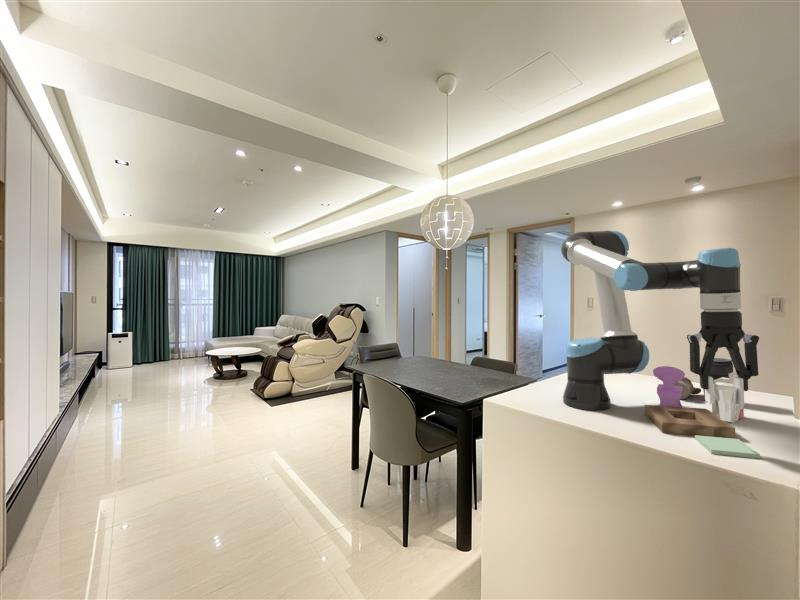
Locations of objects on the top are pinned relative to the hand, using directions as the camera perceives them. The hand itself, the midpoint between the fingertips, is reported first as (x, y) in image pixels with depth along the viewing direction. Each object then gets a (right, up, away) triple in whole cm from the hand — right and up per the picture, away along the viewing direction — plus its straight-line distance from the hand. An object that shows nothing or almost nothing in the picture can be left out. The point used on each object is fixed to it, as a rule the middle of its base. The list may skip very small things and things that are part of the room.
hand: (724, 402), depth 85 cm
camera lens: (+31, -10, +34) cm, 47 cm away
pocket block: (+3, -11, +15) cm, 19 cm away
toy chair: (+9, -11, +29) cm, 32 cm away
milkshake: (0, -4, 0) cm, 4 cm away
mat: (0, -11, 0) cm, 11 cm away
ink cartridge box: (+20, -11, +19) cm, 30 cm away
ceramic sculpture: (+24, -11, +43) cm, 50 cm away
